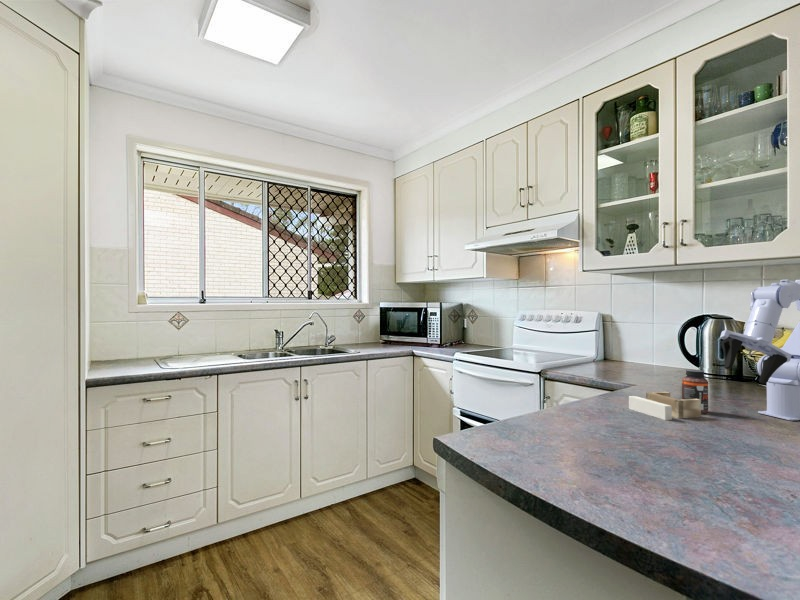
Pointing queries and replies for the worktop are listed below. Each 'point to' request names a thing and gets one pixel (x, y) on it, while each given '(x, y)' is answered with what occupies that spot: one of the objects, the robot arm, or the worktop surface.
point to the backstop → (650, 407)
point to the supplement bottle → (696, 388)
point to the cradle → (677, 404)
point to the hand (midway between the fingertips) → (745, 375)
